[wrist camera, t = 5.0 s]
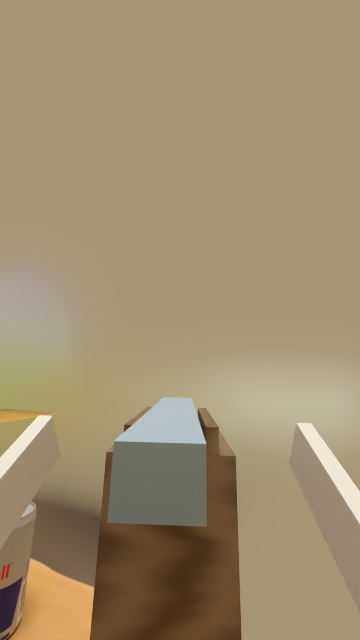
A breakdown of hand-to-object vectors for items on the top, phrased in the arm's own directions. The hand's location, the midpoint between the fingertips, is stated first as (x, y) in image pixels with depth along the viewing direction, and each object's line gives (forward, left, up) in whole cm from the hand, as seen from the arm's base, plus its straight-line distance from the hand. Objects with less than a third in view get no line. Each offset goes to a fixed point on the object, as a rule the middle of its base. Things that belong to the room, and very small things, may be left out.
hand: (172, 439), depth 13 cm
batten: (0, +9, -2) cm, 9 cm away
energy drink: (-21, +21, -26) cm, 40 cm away
